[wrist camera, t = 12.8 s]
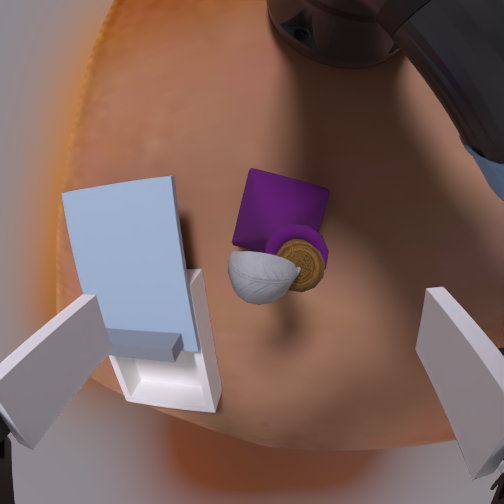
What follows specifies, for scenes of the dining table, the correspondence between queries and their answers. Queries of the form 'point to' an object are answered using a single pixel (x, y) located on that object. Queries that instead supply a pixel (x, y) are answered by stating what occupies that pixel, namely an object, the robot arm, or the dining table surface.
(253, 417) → the dining table surface
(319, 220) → the perfume bottle
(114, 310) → the lid
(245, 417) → the dining table surface
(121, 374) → the storage box
